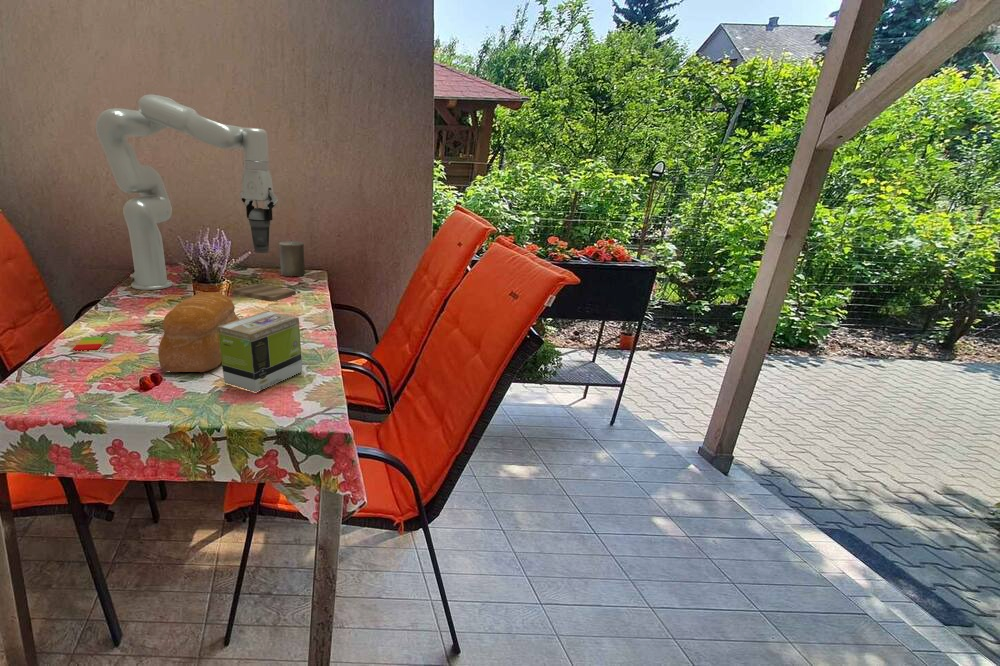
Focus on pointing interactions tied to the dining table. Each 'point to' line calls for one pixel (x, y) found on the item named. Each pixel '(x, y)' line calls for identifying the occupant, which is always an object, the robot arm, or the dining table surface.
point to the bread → (195, 333)
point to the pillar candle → (292, 258)
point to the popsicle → (90, 343)
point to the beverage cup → (259, 230)
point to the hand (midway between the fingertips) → (259, 218)
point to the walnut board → (264, 292)
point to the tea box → (260, 350)
